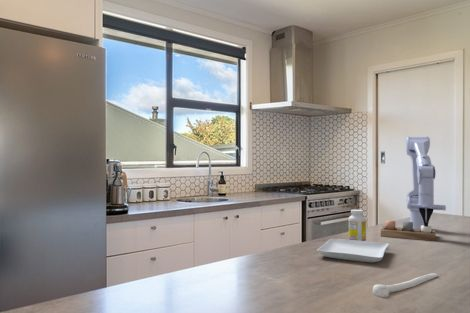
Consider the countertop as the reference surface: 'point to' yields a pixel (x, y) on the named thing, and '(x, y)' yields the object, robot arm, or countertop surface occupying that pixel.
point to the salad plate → (353, 250)
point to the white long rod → (400, 285)
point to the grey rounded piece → (407, 226)
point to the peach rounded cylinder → (390, 224)
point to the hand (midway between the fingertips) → (426, 226)
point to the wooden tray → (408, 234)
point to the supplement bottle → (357, 226)
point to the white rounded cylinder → (425, 229)
